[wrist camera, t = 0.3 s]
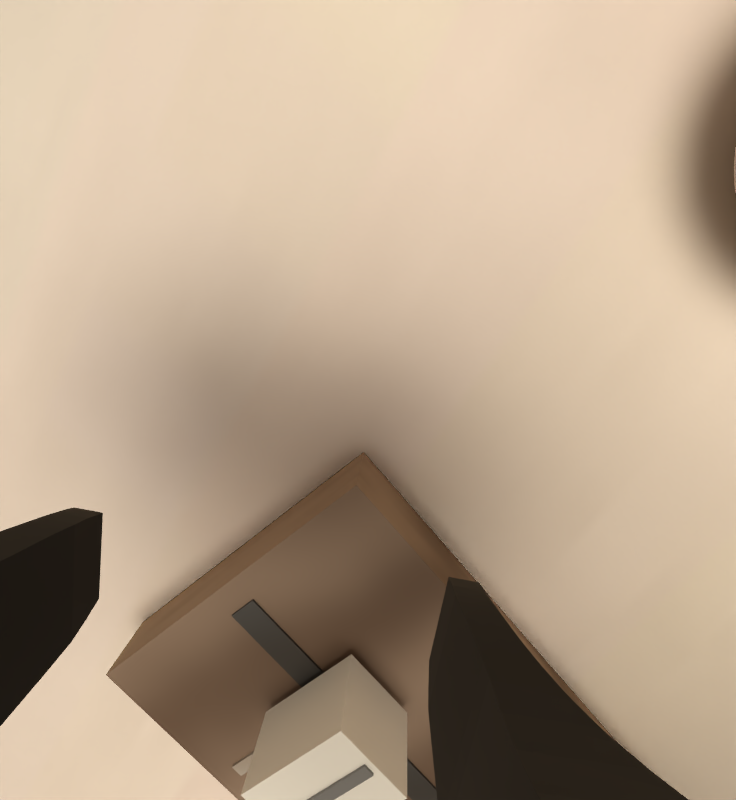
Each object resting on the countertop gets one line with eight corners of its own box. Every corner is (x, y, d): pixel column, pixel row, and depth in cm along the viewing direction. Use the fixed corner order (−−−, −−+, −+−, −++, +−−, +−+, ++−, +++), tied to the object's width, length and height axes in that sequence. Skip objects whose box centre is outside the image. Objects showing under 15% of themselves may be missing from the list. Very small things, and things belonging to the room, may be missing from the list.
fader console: (693, 829, 25) (732, 910, 22) (468, 941, 27) (476, 1027, 24) (363, 452, 21) (356, 486, 18) (142, 622, 24) (104, 677, 21)
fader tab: (407, 713, 20) (407, 801, 17) (321, 766, 21) (305, 860, 18) (351, 654, 19) (340, 733, 16) (266, 711, 20) (239, 798, 17)
